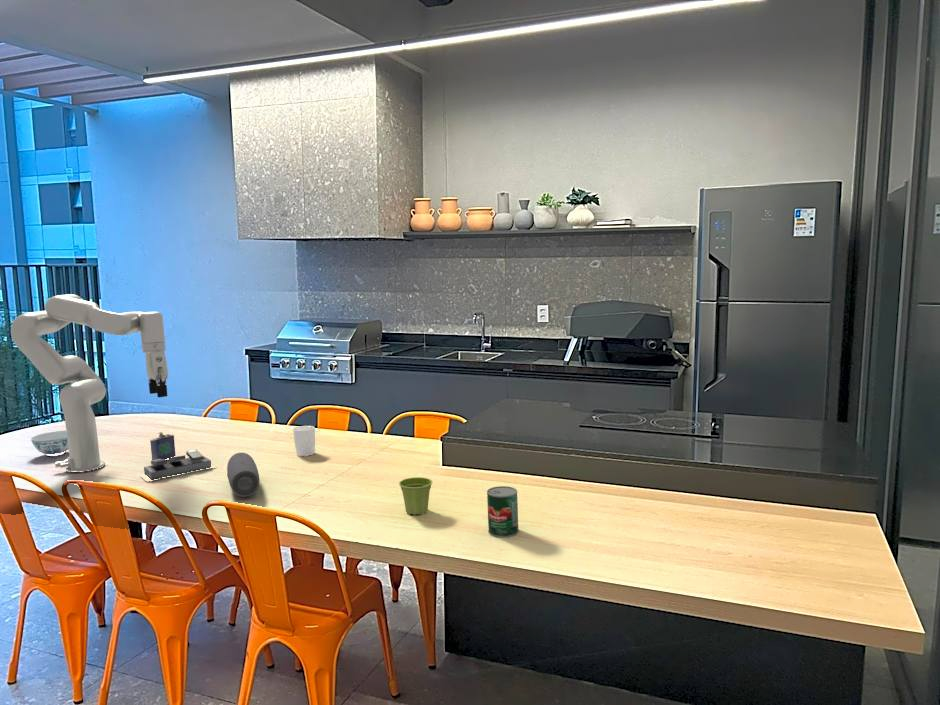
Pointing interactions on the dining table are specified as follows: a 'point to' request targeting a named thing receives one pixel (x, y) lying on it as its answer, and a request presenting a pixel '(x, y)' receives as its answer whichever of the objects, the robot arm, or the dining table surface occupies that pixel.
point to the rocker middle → (176, 458)
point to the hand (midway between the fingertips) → (158, 394)
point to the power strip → (176, 467)
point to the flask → (163, 447)
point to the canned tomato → (502, 511)
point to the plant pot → (416, 494)
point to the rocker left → (159, 462)
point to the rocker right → (194, 455)
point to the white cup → (304, 440)
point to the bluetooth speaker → (243, 474)
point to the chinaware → (51, 442)
